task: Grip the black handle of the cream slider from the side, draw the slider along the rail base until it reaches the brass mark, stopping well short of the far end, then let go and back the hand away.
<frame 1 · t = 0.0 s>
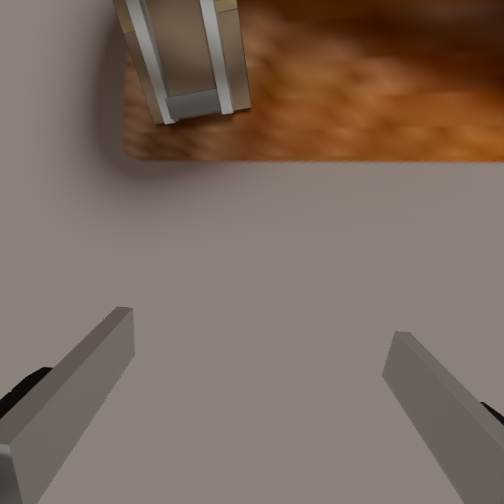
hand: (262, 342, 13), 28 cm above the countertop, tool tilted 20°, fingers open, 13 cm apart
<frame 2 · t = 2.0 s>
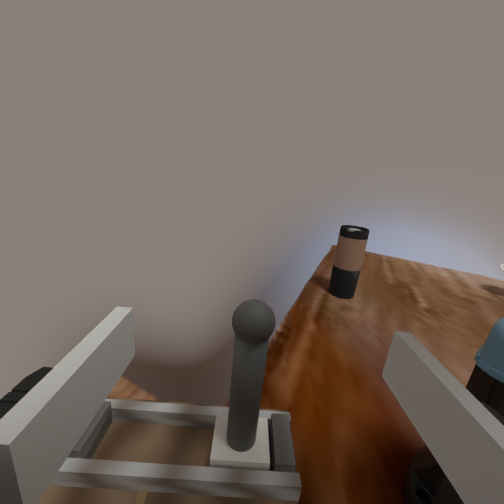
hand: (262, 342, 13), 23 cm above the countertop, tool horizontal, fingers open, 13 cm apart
travel mug: (340, 294, 76), on the countertop
rail base: (185, 459, 29), on the countertop
slider: (246, 385, 26), point 11 cm above the countertop, slide at 0.0 cm
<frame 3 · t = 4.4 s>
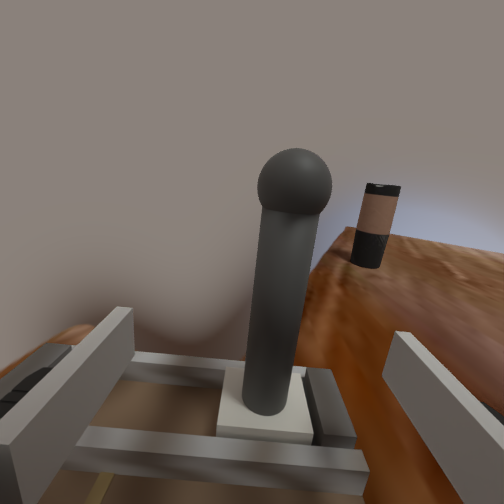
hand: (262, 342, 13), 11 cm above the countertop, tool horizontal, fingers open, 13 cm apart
travel mug: (364, 264, 66), on the countertop
rail base: (178, 431, 19), on the countertop
slider: (276, 307, 16), point 11 cm above the countertop, slide at 0.0 cm
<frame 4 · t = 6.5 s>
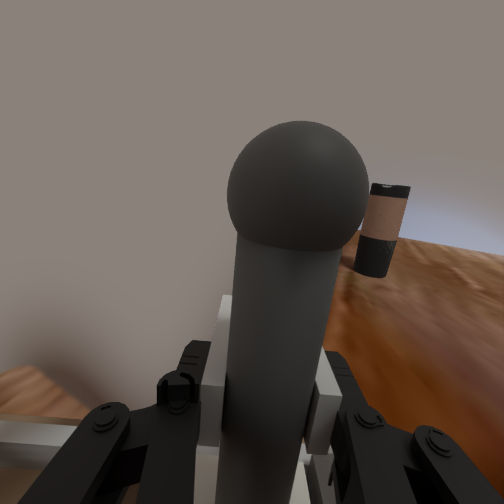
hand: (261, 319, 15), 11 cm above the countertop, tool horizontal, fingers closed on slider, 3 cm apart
travel mug: (369, 272, 60), on the countertop
slider: (266, 395, 10), point 11 cm above the countertop, slide at 0.0 cm, touching gripper
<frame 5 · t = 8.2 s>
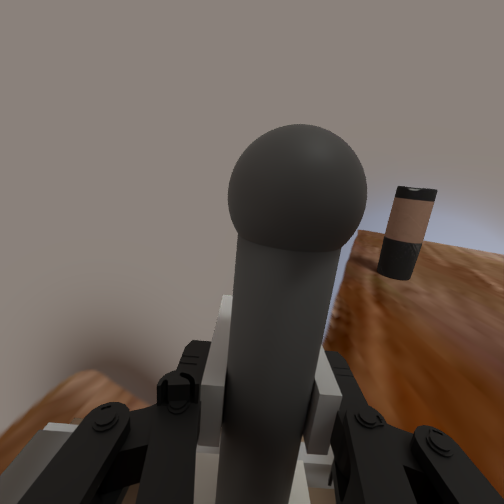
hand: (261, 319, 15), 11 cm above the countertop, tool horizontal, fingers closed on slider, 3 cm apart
travel mug: (392, 275, 61), on the countertop
slider: (266, 393, 10), point 11 cm above the countertop, slide at 5.8 cm, touching gripper
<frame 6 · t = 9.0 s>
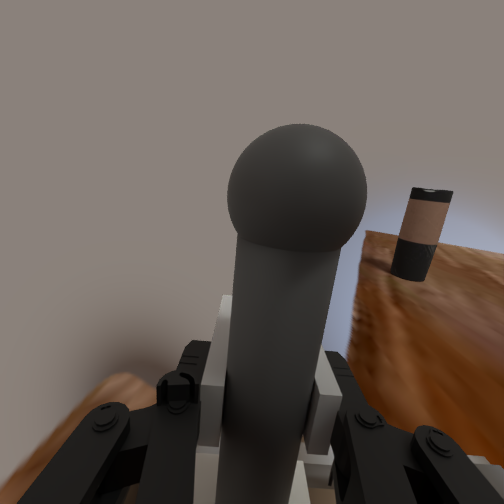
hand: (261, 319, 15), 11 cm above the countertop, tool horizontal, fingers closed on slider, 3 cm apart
travel mug: (406, 276, 60), on the countertop
slider: (266, 393, 10), point 11 cm above the countertop, slide at 9.0 cm, touching gripper
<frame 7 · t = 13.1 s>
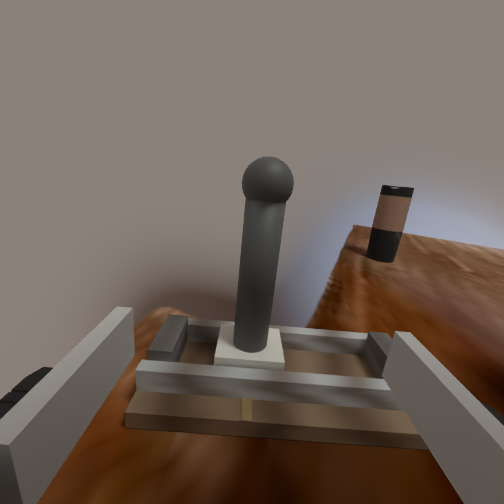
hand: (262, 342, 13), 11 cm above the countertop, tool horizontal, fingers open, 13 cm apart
travel mug: (379, 259, 73), on the countertop
rail base: (276, 379, 25), on the countertop
slider: (257, 272, 22), point 11 cm above the countertop, slide at 9.0 cm
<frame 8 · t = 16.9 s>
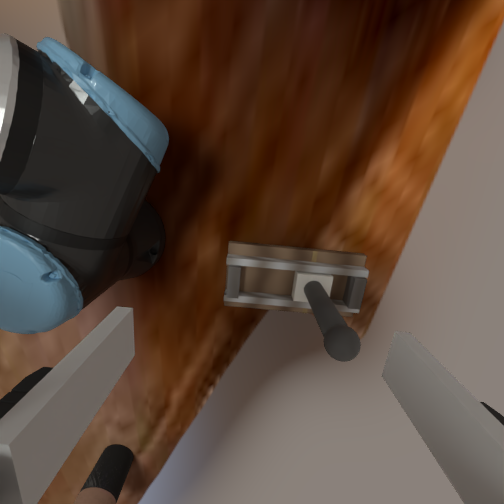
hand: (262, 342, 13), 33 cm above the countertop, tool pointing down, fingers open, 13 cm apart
travel mug: (118, 454, 60), on the countertop
rail base: (292, 278, 47), on the countertop
slider: (324, 310, 37), point 11 cm above the countertop, slide at 9.0 cm
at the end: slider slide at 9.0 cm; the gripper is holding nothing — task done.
